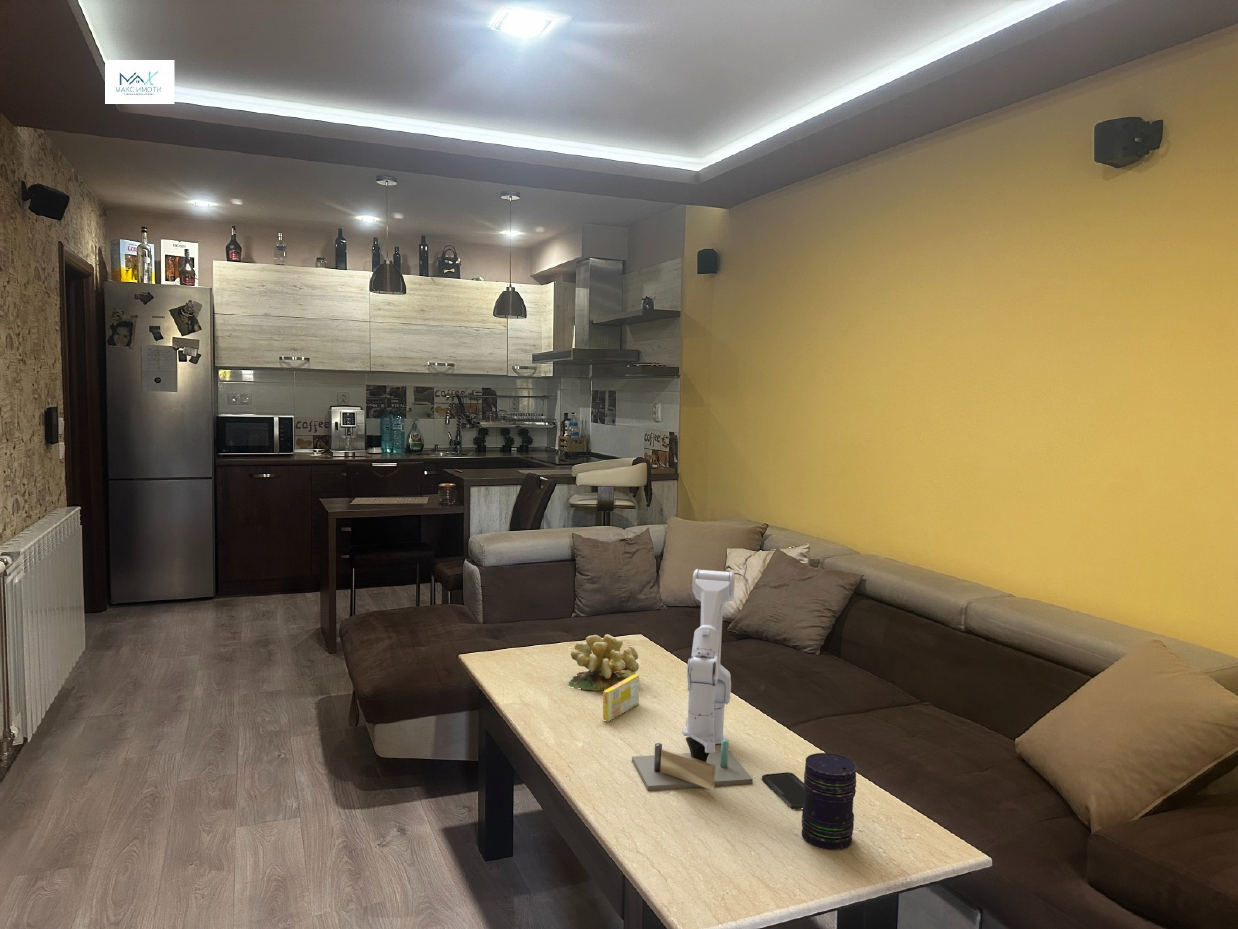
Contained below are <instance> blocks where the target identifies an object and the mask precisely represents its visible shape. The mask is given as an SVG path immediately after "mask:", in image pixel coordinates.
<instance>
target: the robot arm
mask: <svg viewBox="0 0 1238 929" xmlns="http://www.w3.org/2000/svg"><path fill="white" fill-rule="evenodd" d="M735 582H736V574H735V573H734V571H722V570H721V571H719V570H707V569H699V568H696V569H695V570H693V574H692V593H693V595H694V598H695V600H697V601H699V602H700V626H699V627H698V628H696V629H695V630H694V633H693V639H692V640H693V641H692V650H691V657H689V658H688V661H687V666H686V668H687V669H686V678H687V691H688V703H687V704H688V706H687V717H686V720H685V726H686V728H685V729H682V730H681V733H682V735H683V736H684V737H685V741H686V743H687V746H688V749H689V751H690V752H689V753H691V757H692V758H695V759H698V760H701V761H704V762H706V761H707V758H708V755H709V753H713V752H716V745H721V742H722V740H728V739H727V737H725V735H724V724H725V723H724V721H725V706H726V705H728V704H729V703H730V701H731V692H732V681H731V678H732V677H731V672H730V671H729V670H728V669H726V667H724V666H723V665H722V664H721V655H722V654H721V653H722V634H723V632H722V631H723V610H724V607H725V604H726V603H728V602H733V599H734V597H735Z"/></svg>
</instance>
